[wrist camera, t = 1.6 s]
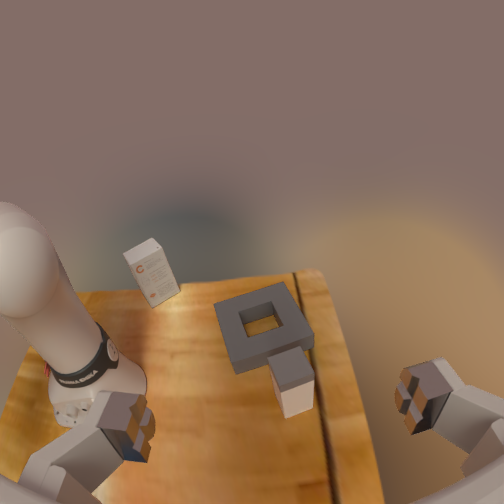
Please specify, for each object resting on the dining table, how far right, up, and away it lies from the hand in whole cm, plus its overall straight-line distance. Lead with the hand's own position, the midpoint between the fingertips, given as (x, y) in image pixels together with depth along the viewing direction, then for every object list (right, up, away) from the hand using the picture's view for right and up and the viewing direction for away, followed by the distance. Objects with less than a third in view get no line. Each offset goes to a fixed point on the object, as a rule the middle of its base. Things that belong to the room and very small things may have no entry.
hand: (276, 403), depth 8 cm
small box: (-22, -6, +60) cm, 64 cm away
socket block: (+1, -11, +47) cm, 48 cm away
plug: (+6, -19, +34) cm, 39 cm away
